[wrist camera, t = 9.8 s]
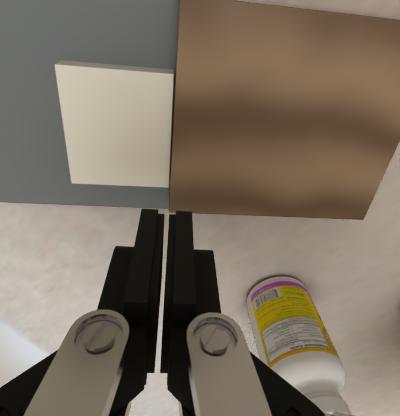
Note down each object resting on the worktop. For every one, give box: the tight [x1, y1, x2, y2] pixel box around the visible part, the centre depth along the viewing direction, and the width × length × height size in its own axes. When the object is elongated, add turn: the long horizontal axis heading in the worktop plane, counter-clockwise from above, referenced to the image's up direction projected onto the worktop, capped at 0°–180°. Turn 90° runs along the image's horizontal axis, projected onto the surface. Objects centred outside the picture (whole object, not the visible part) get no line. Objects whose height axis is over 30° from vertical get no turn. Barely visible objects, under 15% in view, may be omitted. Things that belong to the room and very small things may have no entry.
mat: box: [0, 0, 179, 209], centre depth 22 cm, size 16×14×1 cm
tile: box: [54, 60, 174, 188], centre depth 22 cm, size 8×7×2 cm
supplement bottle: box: [247, 277, 351, 415], centre depth 29 cm, size 7×7×13 cm
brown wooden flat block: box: [169, 0, 400, 220], centre depth 23 cm, size 14×16×2 cm
